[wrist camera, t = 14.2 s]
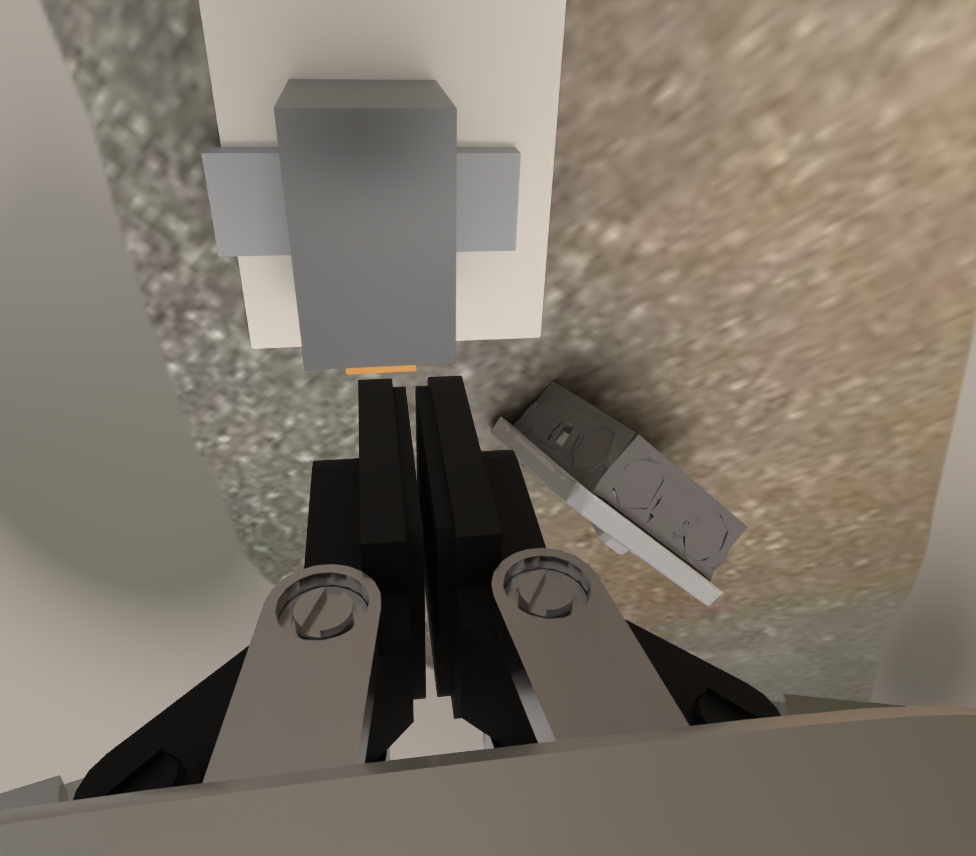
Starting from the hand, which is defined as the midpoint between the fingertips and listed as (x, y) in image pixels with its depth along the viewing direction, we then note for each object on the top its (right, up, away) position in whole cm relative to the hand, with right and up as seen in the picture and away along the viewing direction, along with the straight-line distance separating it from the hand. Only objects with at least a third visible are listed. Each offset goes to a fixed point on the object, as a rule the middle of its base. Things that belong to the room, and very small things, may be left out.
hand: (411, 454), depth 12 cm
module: (-3, +9, +15) cm, 18 cm away
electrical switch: (+6, 0, +24) cm, 25 cm away
